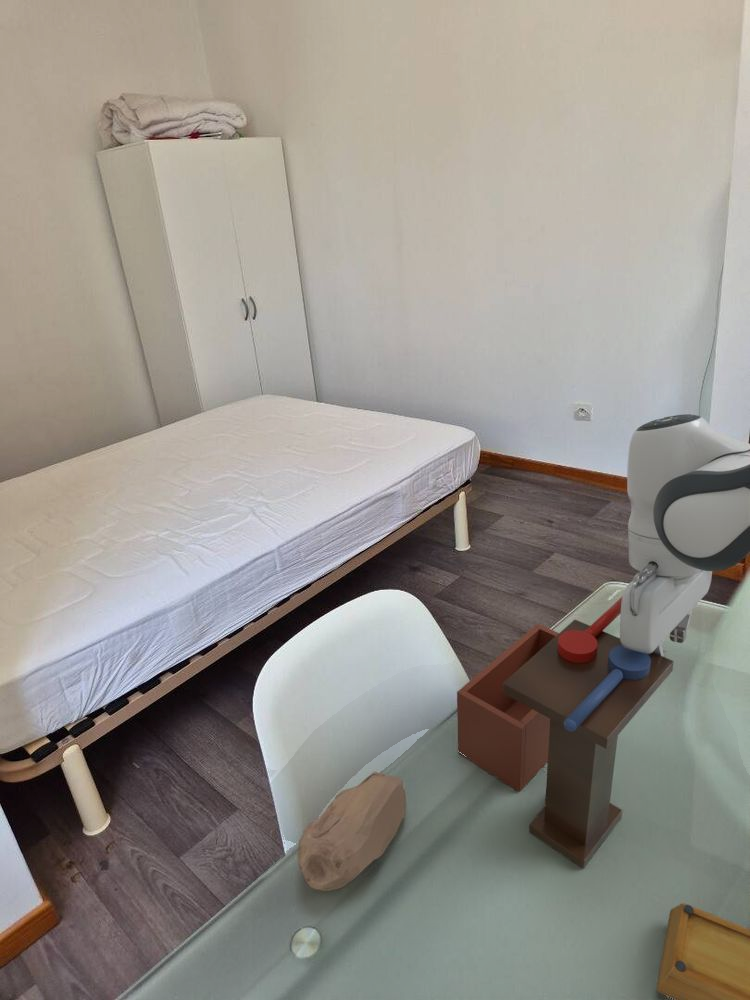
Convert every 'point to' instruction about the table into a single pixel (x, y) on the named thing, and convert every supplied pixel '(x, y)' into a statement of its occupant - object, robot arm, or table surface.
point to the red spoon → (586, 638)
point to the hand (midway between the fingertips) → (667, 652)
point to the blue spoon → (611, 681)
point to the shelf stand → (580, 740)
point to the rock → (352, 832)
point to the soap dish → (704, 957)
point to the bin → (504, 717)
